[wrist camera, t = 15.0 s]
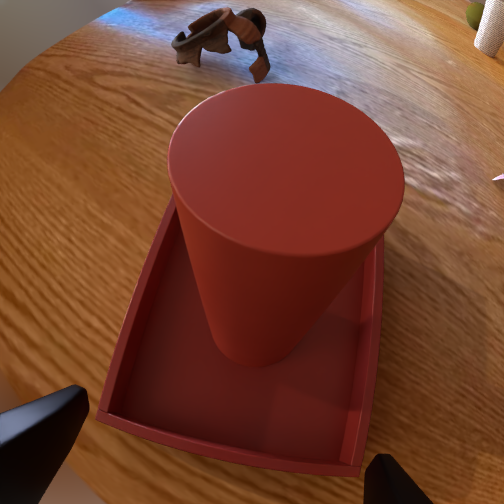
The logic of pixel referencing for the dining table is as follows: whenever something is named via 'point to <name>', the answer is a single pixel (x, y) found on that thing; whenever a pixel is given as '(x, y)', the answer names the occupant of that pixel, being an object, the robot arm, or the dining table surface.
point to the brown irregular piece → (225, 37)
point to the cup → (491, 28)
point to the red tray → (244, 373)
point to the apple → (474, 14)
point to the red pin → (278, 209)
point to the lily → (499, 177)
